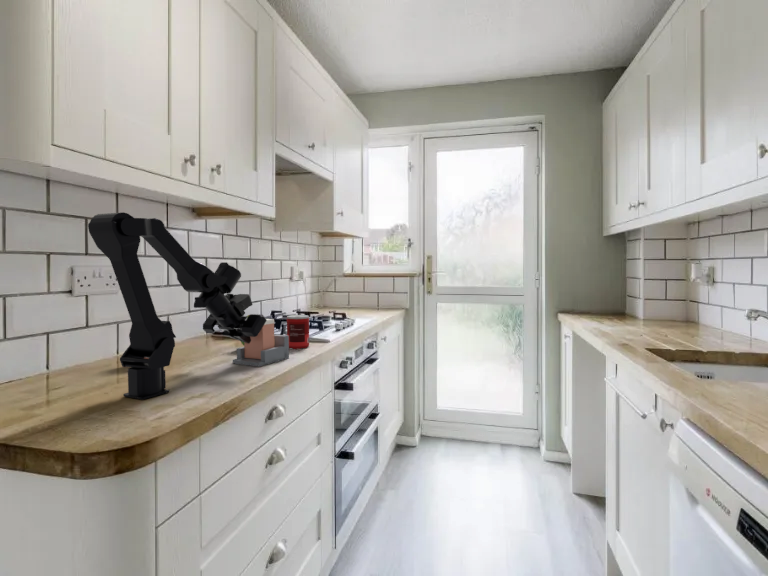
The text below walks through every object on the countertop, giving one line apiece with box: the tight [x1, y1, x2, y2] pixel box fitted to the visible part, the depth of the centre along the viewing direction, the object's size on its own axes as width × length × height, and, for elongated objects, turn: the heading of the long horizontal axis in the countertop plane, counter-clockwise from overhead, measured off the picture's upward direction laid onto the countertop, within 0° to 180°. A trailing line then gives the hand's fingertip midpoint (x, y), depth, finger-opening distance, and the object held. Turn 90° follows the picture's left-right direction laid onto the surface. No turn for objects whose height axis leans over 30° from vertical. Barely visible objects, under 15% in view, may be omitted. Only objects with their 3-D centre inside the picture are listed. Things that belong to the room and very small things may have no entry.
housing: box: [232, 333, 290, 367], centre depth 129 cm, size 13×11×7 cm
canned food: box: [286, 314, 310, 350], centre depth 152 cm, size 8×8×11 cm
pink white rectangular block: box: [243, 318, 275, 359], centre depth 129 cm, size 5×7×11 cm
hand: (249, 342), depth 125 cm, fingers closed
